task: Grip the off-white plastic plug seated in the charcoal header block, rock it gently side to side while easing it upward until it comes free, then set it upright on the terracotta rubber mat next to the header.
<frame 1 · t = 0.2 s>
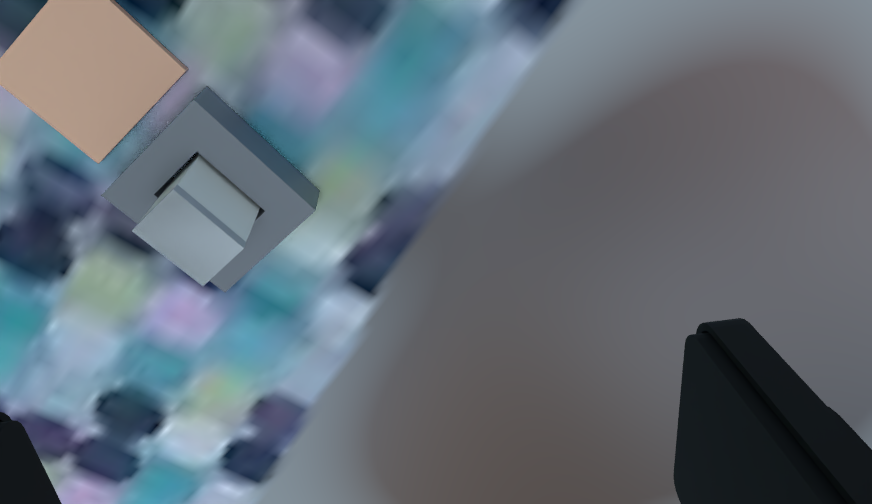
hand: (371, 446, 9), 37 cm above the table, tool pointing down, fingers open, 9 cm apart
plug: (206, 208, 42), in the header
header: (221, 183, 46), on the table
mat: (91, 70, 42), on the table
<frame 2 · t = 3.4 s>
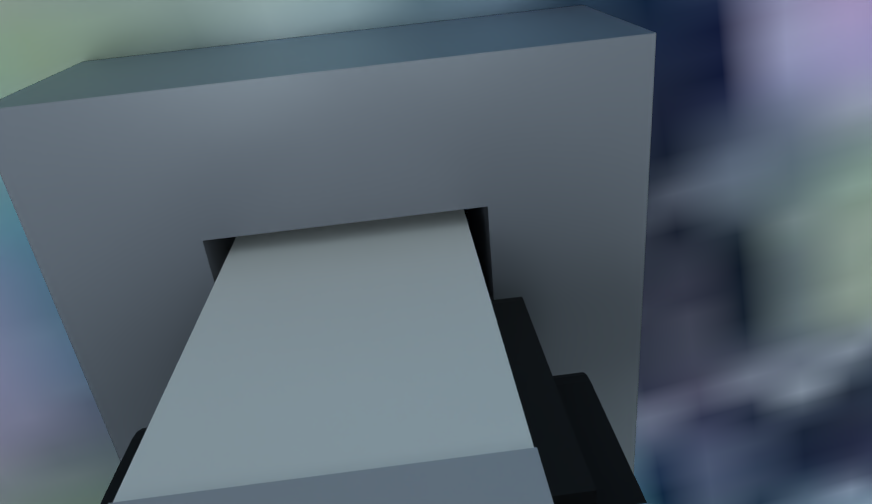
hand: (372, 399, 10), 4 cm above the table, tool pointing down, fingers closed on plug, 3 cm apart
plug: (371, 415, 10), in the header, touching gripper
header: (374, 276, 14), on the table
when the fingers open (6 cm above the table, at t = 10.7 s): plug drops 1 cm, resting on mat.
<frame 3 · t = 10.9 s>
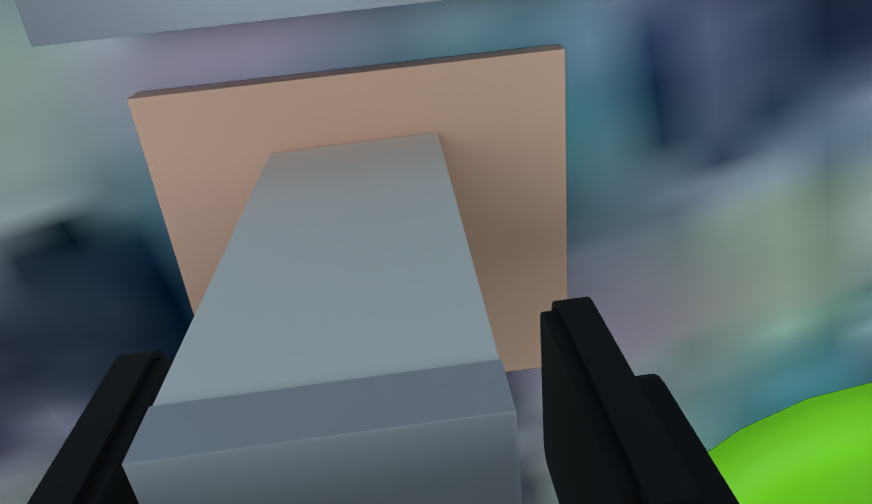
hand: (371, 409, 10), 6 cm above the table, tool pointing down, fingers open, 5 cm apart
plug: (368, 363, 11), on the mat, point 5 cm above the table
mat: (375, 237, 16), on the table
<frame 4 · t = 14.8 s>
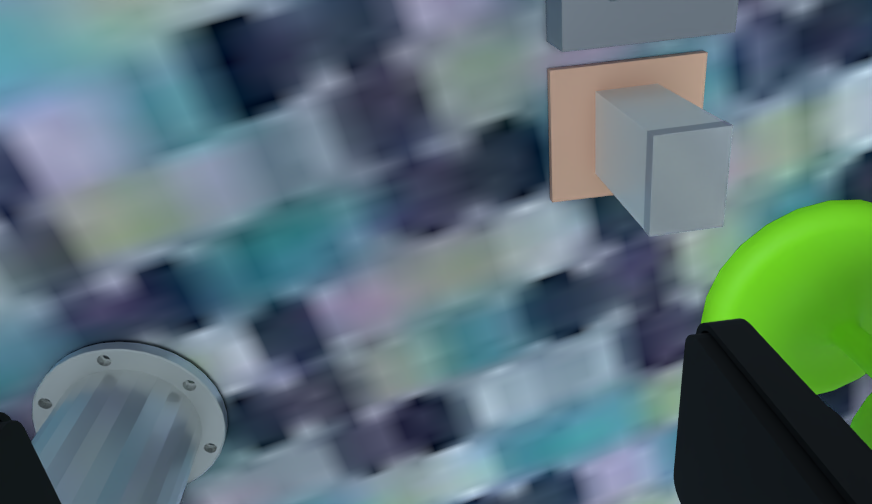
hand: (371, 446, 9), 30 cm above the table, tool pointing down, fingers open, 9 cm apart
wineglass: (811, 303, 46), on the table
plug: (653, 153, 35), on the mat, point 5 cm above the table
mat: (623, 127, 39), on the table
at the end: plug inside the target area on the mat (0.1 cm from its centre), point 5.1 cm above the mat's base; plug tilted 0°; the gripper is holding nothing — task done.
